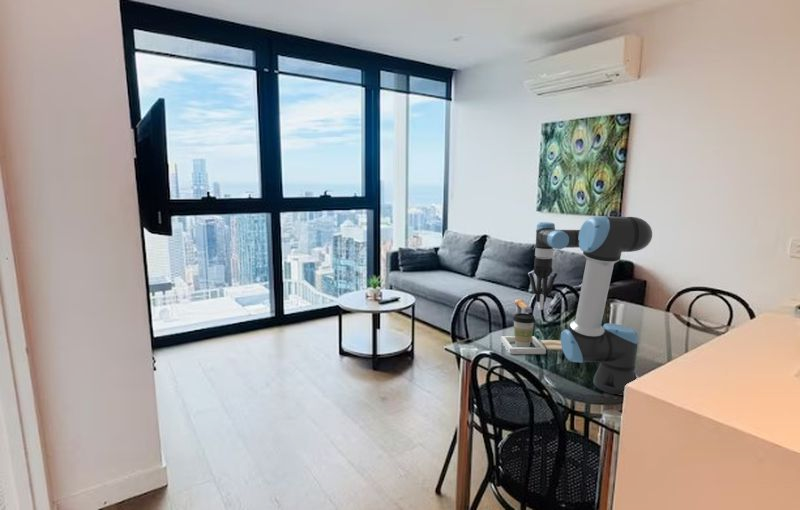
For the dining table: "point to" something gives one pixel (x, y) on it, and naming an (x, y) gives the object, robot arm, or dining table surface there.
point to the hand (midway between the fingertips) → (540, 308)
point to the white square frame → (522, 350)
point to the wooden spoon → (523, 306)
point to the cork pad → (552, 345)
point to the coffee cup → (523, 329)
